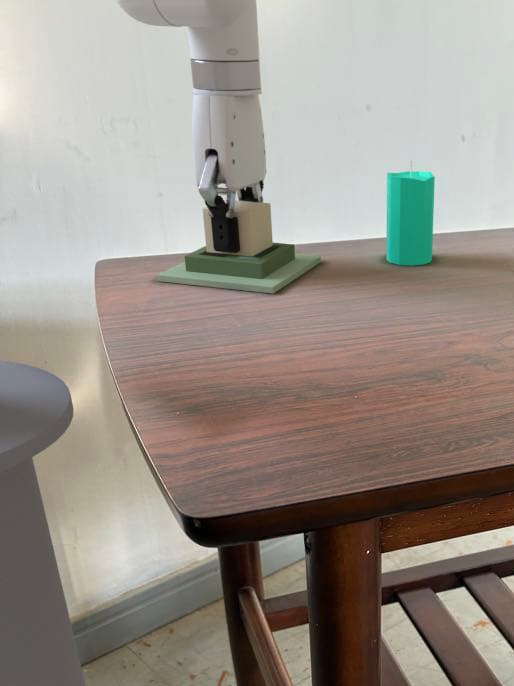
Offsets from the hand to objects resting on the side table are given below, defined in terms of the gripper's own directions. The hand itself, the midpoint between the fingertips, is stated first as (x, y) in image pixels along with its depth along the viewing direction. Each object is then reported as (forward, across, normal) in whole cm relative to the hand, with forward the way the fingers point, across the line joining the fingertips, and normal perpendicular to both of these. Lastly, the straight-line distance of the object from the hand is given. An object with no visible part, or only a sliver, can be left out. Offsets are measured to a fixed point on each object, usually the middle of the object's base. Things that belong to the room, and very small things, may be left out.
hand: (239, 243), depth 106 cm
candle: (+3, -13, +18) cm, 22 cm away
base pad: (+3, 0, 0) cm, 3 cm away
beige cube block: (+1, 0, 0) cm, 1 cm away
